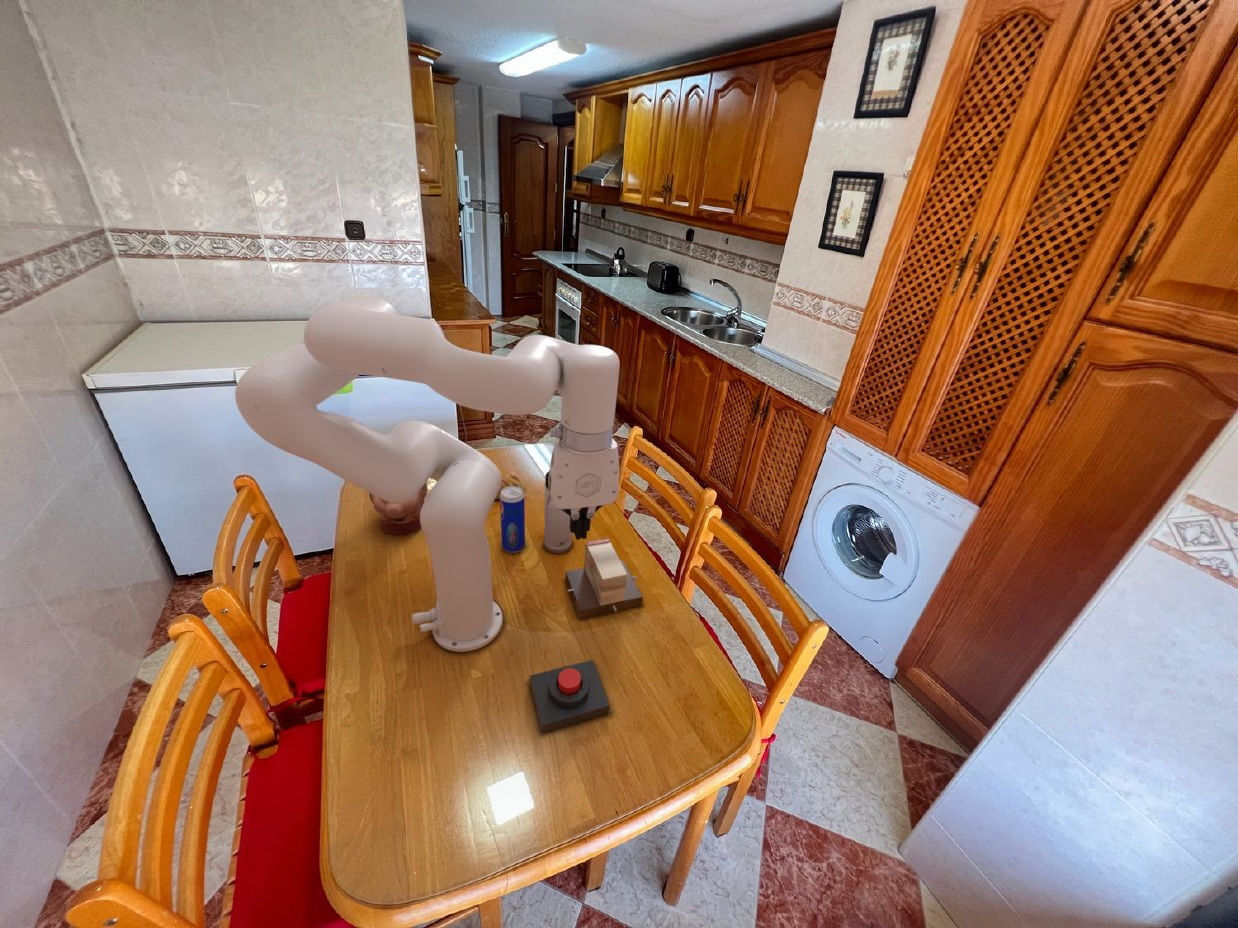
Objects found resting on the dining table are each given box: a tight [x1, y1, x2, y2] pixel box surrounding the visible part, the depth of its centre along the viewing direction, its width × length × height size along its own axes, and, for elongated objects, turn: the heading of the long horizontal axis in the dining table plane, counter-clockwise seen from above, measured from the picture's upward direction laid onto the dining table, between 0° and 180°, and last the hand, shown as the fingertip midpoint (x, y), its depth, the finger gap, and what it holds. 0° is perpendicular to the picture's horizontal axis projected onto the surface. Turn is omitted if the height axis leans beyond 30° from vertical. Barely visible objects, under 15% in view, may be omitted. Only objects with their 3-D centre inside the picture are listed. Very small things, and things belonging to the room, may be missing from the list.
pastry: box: [494, 474, 525, 501], centre depth 129 cm, size 9×7×4 cm
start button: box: [558, 668, 581, 695], centre depth 79 cm, size 4×4×2 cm
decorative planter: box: [368, 482, 428, 534], centre depth 114 cm, size 20×12×14 cm, turn 23°
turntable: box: [564, 560, 643, 620], centre depth 102 cm, size 15×15×3 cm
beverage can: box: [499, 486, 526, 554], centre depth 109 cm, size 5×5×15 cm
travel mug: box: [543, 471, 573, 554], centre depth 109 cm, size 6×7×20 cm
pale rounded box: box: [583, 538, 627, 606], centre depth 100 cm, size 11×5×7 cm, turn 20°
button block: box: [529, 659, 611, 734], centre depth 81 cm, size 11×9×4 cm
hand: (579, 533), depth 80 cm, fingers closed
